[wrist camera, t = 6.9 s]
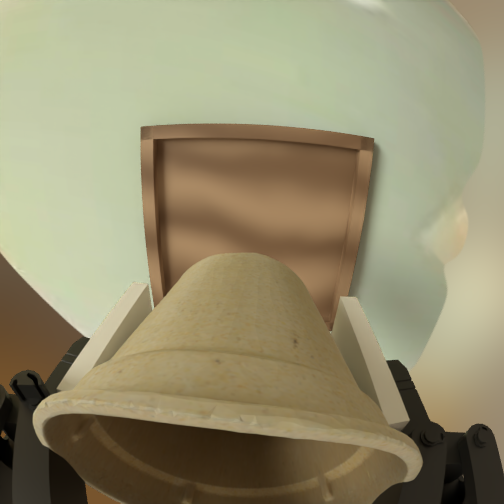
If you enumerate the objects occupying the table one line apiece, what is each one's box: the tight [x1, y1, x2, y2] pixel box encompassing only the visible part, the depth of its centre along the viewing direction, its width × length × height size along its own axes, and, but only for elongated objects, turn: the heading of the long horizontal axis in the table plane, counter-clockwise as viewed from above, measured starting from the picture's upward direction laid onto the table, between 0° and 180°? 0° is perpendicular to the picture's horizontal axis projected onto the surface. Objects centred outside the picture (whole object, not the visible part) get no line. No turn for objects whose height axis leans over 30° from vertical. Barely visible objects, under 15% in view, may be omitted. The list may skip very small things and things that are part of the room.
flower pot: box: [33, 253, 423, 504], centre depth 8 cm, size 9×9×9 cm
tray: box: [141, 124, 374, 331], centre depth 26 cm, size 20×20×2 cm
